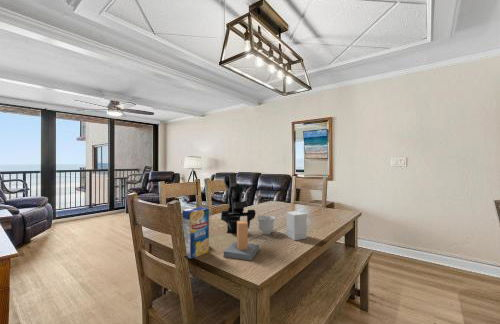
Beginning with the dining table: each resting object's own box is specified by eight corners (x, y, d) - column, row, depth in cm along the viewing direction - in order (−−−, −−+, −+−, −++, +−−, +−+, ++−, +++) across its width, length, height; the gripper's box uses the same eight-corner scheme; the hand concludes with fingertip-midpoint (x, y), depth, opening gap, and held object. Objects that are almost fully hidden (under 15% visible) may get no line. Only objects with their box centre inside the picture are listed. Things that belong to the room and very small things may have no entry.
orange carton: (236, 246, 117) (236, 221, 117) (245, 245, 118) (245, 220, 118) (238, 250, 113) (238, 223, 113) (247, 249, 114) (247, 223, 114)
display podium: (223, 256, 111) (223, 251, 111) (234, 246, 124) (234, 241, 124) (251, 260, 107) (251, 255, 107) (259, 249, 120) (259, 244, 120)
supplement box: (307, 238, 137) (307, 213, 137) (294, 240, 133) (294, 215, 133) (298, 234, 145) (298, 210, 145) (286, 236, 142) (286, 211, 142)
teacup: (275, 229, 156) (275, 214, 156) (275, 236, 141) (275, 220, 141) (257, 228, 157) (257, 213, 157) (256, 235, 142) (256, 219, 142)
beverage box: (182, 254, 113) (182, 210, 113) (200, 248, 121) (200, 206, 121) (190, 259, 108) (190, 212, 108) (208, 252, 116) (209, 208, 116)
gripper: (221, 196, 124) (223, 222, 114) (254, 195, 128) (259, 220, 118) (220, 207, 132) (221, 232, 122) (251, 206, 136) (256, 230, 126)
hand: (240, 228), depth 121 cm, fingers open, 9 cm apart
